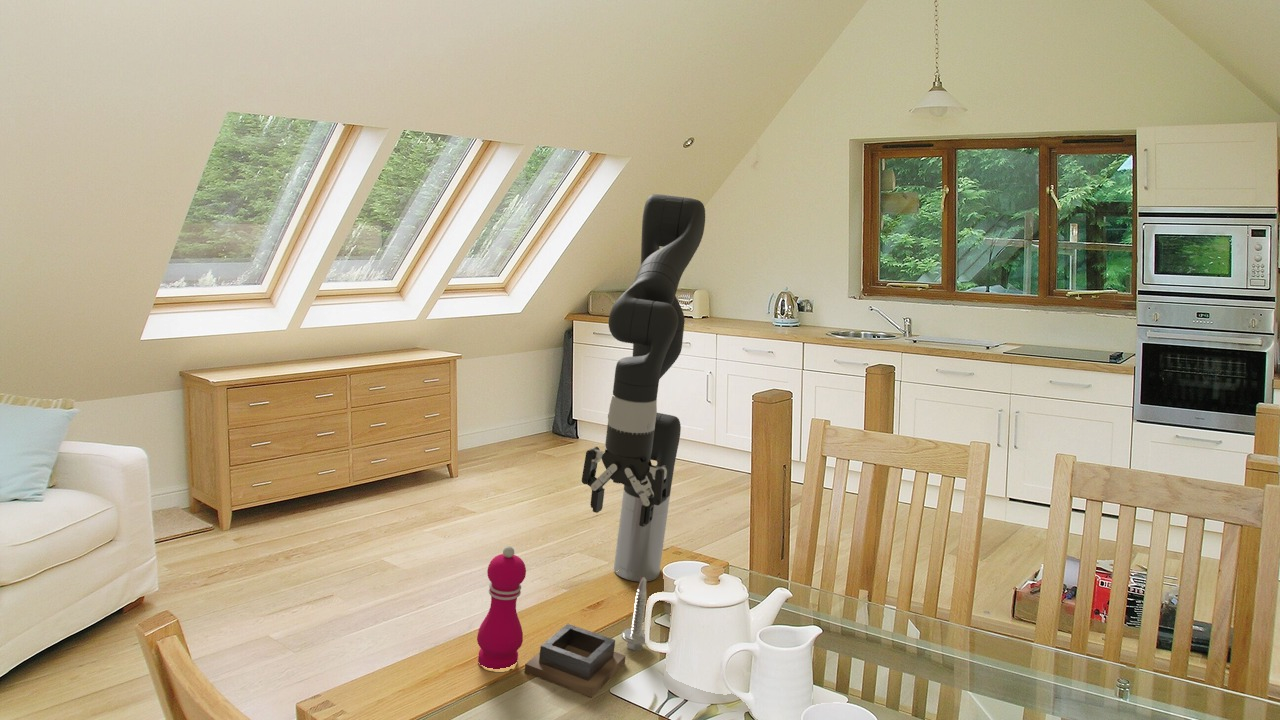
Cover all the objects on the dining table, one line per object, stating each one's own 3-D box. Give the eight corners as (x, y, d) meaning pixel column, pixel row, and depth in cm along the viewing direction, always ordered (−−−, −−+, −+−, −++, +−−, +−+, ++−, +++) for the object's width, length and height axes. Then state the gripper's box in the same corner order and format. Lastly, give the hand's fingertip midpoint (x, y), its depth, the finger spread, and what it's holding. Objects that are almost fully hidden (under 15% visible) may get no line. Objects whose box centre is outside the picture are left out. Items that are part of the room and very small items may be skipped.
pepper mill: (516, 677, 151) (529, 559, 146) (470, 671, 151) (482, 553, 146) (523, 653, 158) (535, 540, 153) (479, 648, 158) (490, 534, 153)
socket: (565, 639, 161) (567, 623, 160) (613, 656, 157) (615, 640, 157) (538, 662, 153) (540, 645, 152) (588, 681, 149) (590, 663, 149)
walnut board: (561, 641, 163) (562, 633, 163) (624, 663, 158) (625, 655, 158) (524, 672, 152) (525, 663, 152) (591, 697, 148) (592, 688, 147)
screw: (630, 636, 167) (653, 646, 165) (614, 646, 163) (638, 657, 161) (639, 567, 165) (663, 577, 162) (623, 576, 161) (648, 586, 158)
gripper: (681, 428, 153) (669, 522, 157) (603, 408, 159) (592, 499, 162) (662, 439, 146) (649, 537, 150) (580, 418, 152) (570, 513, 156)
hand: (620, 517), depth 156 cm, fingers open, 8 cm apart
